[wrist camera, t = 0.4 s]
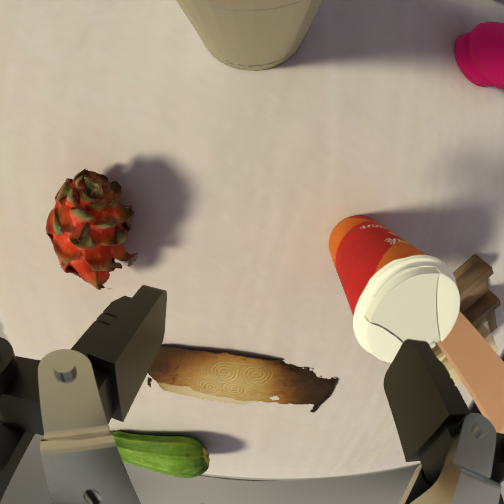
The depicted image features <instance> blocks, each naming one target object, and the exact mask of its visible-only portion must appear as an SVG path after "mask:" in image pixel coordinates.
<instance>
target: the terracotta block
mask: <svg viewBox="0 0 504 504" xmlns="http://www.w3.org/2000/svg"><path fill="white" fill-rule="evenodd" d="M437 345H438V346H439V347H440V349H441V350H442V352H443V353H444V355H445V356H446V358H447V359H448V361H449V362H450V364H451V365H452V367H453V368H454V370H455V371H456V373H457V374H458V376H459V377H460V379H461V381H462V382H463V384H464V385H465V387H466V388H467V390H468V392H469V393H470V395H471V396H472V398H473V400H474V401H475V403H476V405H477V406H478V408H479V410H480V411H481V413H482V415H483V416H484V417H486V418H487V419H488V420H489V421H490V422H491V423H492V424H493V426H494V428H495V430H496V432H497V433H503V434H504V362H503V361H502V360H501V358H500V357H499V356H498V355H497V353H496V352H495V351H494V350H493V349H492V347H491V346H490V345H489V344H488V343H487V341H486V340H485V339H484V338H483V337H482V336H481V334H480V333H479V332H478V331H477V330H476V329H475V327H474V326H473V325H472V324H471V323H470V322H469V321H468V320H467V318H466V317H465V316H464V315H463V314H462V313H461V312H460V311H459V313H458V317H457V319H456V322H455V324H454V326H453V328H452V329H451V331H450V332H449V334H448V335H447V337H446V338H445V339H444V340H443V341H441V340H440V341H439V342H437Z"/></svg>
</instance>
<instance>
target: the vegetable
mask: <svg viewBox="0 0 504 504" xmlns="http://www.w3.org/2000/svg"><path fill="white" fill-rule="evenodd" d="M112 435H113V437H114V440H115V443H116V445H117V448H118V451H119V454H120V456H121V459H122V461H123V462H125V463H128V464H131V465H134V466H138V467H141V468H145V469H149V470H152V471H155V472H158V473H161V474H165V475H170V476H175V477H182V478H192V477H196V476H199V475H201V474H203V473H204V472H205V471H206V470H207V469H208V467H209V461H210V459H209V453H208V451H207V448H206V447H205V446H204V445H203V443H202V442H201V441H199V440H197V439H194V438H190V437H184V436H151V435H136V434H129V433H125V432H121V431H115V432H113V433H112Z"/></svg>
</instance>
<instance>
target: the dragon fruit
mask: <svg viewBox="0 0 504 504" xmlns="http://www.w3.org/2000/svg"><path fill="white" fill-rule="evenodd" d="M120 198H121V186H120V184H119V183H118V182H117V181H114V182H109V181H108V178H107V177H106V176H104V175H102V174H98V173H96V172H92V171H88V170H86V168H85V169H84V170H83V171H81V172H79V173H78V174H77V175H76V176H75V177H74V179H73V180H72V179H69V178H67V179H66V182H65V183H64V184H63V185H62V187H61V188H60V190H59V192H58V193H57V195H56V197H55V201H56V204H55V207H54V209H53V210H52V211H51V212H50V214H49V216H48V219H47V225H46V232H47V234H48V236H49V237H50V239H51V241H52V243H53V245H54V250H55V252H56V254H57V256H58V259H59V262H60V265H61V268H62V269H63V270H64V271H65V272H66V273H69V272H70V273H73V274H75V275H77V276H79V277H80V278H82V279H83V280H84V281H86V282H88V283H90V284H92V285H93V286H94V287H96V288H97V289H99V290H101V288H105V287H104V286H103V285H102V284H104V283H105V282H106V281H107V280H108V279H109V276H110V274H109V272H111V271H114V269H115V268H121V269H122V265H121V264H120V263H115V261H114V259H118V260H120V261H128V260H129V262H128V266H131V265H132V264H133V262H134V261H135V260H136V258H137V254H138V253H136V254H128V253H127V252H126V251H125V249H124V248H123V246H122V245H121V243H123V242H124V241H126V240H127V239H128V236H127V233H126V232H128V231H129V230H130V229H131V225H130V223H129V221H128V220H129V219H130V218H131V217H132V216H133V214H134V207H133V205H131V204H129V205H128V207H129V208H126V207H123V206H121V205H118V202H119V200H120ZM109 289H110V288H109Z"/></svg>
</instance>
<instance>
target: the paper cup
mask: <svg viewBox="0 0 504 504" xmlns="http://www.w3.org/2000/svg"><path fill="white" fill-rule="evenodd" d="M329 249H330V253H331V257H332V259H333V262H334V265H335V268H336V270H337V273H338V276H339V278H340V281H341V283H342V286H343V289H344V291H345V294H346V297H347V300H348V302H349V305H350V308H351V310H352V313H353V316H354V318H353V327H354V333H355V336H356V338H357V340H358V342H359V344H360V345H361V346H362V347H363V348H364V349H365V350H366V351H368V352H369V353H371V354H373V355H374V356H376V357H377V358H378V359H380V360H383V361H385V362H389V363H392V362H393V360H394V358H395V356H396V354H397V353H398V351H399V349H400V347H401V345H402V343H403V342H404V341H405V340H406V339H413V340H421V341H426V342H428V344H429V345H430V347H431V349H432V348H434V347H435V346H436V345H435V344H436V343H437V342H439V341H440V340H441V341H443V340H444V339H445V338H446V337H447V335H448V334H449V332H450V331H451V329H452V328H453V326H454V324H455V322H456V319H457V317H458V313H459V308H460V295H459V290H458V287H457V285H456V281H455V277H454V275H453V272H452V271H451V269H450V268H449V266H448V265H447V264H445V263H444V262H443V261H442V260H440V259H438V258H436V257H433V256H429V255H425V254H424V253H422V252H421V251H419V250H418V249H416V248H415V247H414V246H412V245H411V244H409V243H408V242H406V241H405V240H403V239H402V238H400V237H399V236H397V235H396V234H394V233H393V232H391V231H390V230H388V229H387V228H385V227H383V226H382V225H380V224H379V223H377V222H375V221H373V220H372V219H370V218H367V217H364V216H351V217H348V218H345V219H344V220H342V221H341V222H339V223H338V224H337V225H336V227H335V228H334V229H333V231H332V233H331V236H330V240H329Z"/></svg>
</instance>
